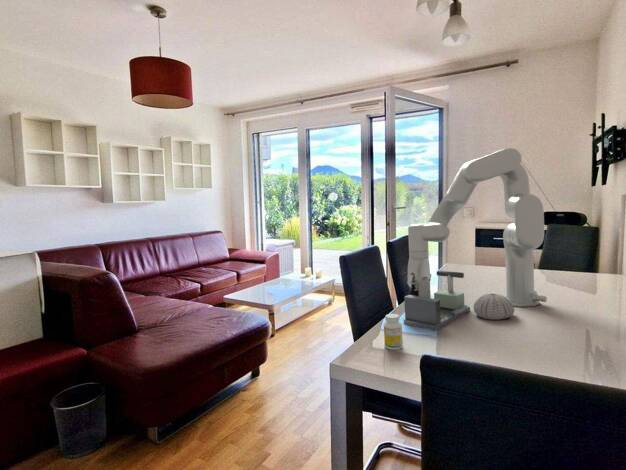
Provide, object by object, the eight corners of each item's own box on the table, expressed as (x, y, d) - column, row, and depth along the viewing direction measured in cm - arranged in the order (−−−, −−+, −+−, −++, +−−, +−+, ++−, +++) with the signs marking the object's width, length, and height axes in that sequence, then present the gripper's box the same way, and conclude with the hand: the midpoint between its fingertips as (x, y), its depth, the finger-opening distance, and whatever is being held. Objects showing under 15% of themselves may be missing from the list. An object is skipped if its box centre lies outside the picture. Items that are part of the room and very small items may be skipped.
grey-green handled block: (465, 305, 139) (464, 272, 137) (458, 309, 134) (457, 275, 133) (441, 302, 146) (439, 269, 145) (433, 305, 142) (431, 272, 141)
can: (432, 308, 145) (430, 278, 144) (412, 308, 146) (410, 279, 145) (430, 303, 152) (428, 274, 151) (411, 303, 154) (409, 275, 153)
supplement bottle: (397, 351, 107) (396, 319, 106) (381, 347, 110) (379, 316, 110) (406, 345, 111) (404, 314, 110) (390, 342, 115) (388, 312, 114)
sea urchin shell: (474, 321, 128) (473, 298, 127) (472, 309, 140) (472, 289, 140) (517, 323, 123) (517, 299, 122) (512, 311, 135) (511, 289, 135)
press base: (470, 310, 139) (469, 286, 138) (435, 330, 121) (433, 302, 120) (440, 305, 148) (439, 282, 147) (403, 323, 130) (402, 297, 129)
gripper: (421, 251, 156) (423, 291, 158) (398, 257, 144) (400, 301, 146) (438, 252, 151) (439, 294, 152) (415, 258, 139) (417, 304, 140)
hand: (420, 297), depth 149 cm, fingers closed on can, 7 cm apart
